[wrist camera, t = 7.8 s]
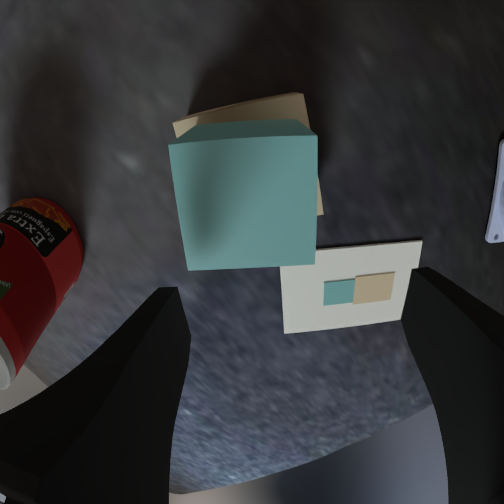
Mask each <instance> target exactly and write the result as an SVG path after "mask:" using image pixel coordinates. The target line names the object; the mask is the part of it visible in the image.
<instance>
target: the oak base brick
mask: <svg viewBox="0 0 504 504" xmlns="http://www.w3.org/2000/svg"><path fill="white" fill-rule="evenodd" d="M271 119H297V120H298V121H300V122H301V123H302V124H303V125H305V126H306V127H307V128H309V129H310V126H309V120H308V115H307V110H306V105H305V100H304V95H303V94H301V93H296V92H292V93H286V94H280V95H275V96H269V97H264V98H259V99H254V100H249V101H245V102H240V103H235V104H231V105H227V106H223V107H218V108H214V109H210V110H206V111H203V112H199V113H195V114H191V115H188V116H185V117H183V118H181V119H179V120H178V121H176V122H174V123H173V126H174V129H175V133H176V136H177V138H178V137H180V136H181V135H182V134H184V133H185V132H187V131H188V130H189V129H191V128H192V127H194V126H195V125H200V124H210V123H222V122H234V121H250V120H271ZM317 215H323V208H322V201H321V194H320V187H319V180H318V179H317Z"/></svg>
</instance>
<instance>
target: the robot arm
mask: <svg viewBox="0 0 504 504" xmlns="http://www.w3.org/2000/svg"><path fill="white" fill-rule="evenodd" d="M495 235H496V236H495ZM494 236H495V237H494ZM485 239H486V240H487V241H488V242H489V243H494V242H503V241H504V139H503V140H501V142H500V145H499V155H498V164H497V173H496V180H495V187H494V194H493V200H492V206H491V211H490V216H489V221H488V226H487V231H486V235H485ZM401 322H402V325H403V328H404V332H405V335H406V338H407V342H408V345H409V347H410V349H411V352H412V354H413V356H414V359H415V361H416V363H417V366H418V368H419V370H420V372H421V375H422V377H423V379H424V382H425V384H426V387H427V389H428V391H429V394H430V396H431V399H432V402H433V404H434V407H435V410H436V414H437V418H438V422H439V427H440V431H441V435H442V441H443V446H444V452H445V458H446V466H447V476H448V495H449V504H504V316H503V315H501V314H500V313H498V312H497V311H495V310H493V309H492V308H490V307H489V306H487V305H486V304H484V303H483V302H481V301H480V300H478V299H477V298H475V297H474V296H473V295H471V294H470V293H468V292H467V291H465V290H464V289H462V288H461V287H459V286H458V285H456V284H455V283H454V282H452V281H451V280H449V279H448V278H446V277H444V276H443V275H441V274H440V273H438V272H436V271H435V270H433V269H431V268H429V267H423V268H414V269H412V270H411V275H410V280H409V285H408V289H407V294H406V298H405V303H404V307H403V311H402V315H401ZM190 342H191V334H190V330H189V327H188V323H187V320H186V316H185V313H184V309H183V306H182V302H181V299H180V295H179V291H178V287H161V288H158V289H157V290H156V291H154V292H153V293H152V294H151V295H150V296H149V297H148V299H147V300H146V301H145V302H144V303H143V304H142V305H141V306H140V307H139V308H138V309H137V310H136V311H135V312H134V313H133V314H132V315H131V316H130V317H129V318H128V319H127V320H126V321H125V322H124V323H123V324H122V326H121V327H120V328H119V329H118V330H117V331H116V332H114V333H113V334H112V335H111V336H110V337H109V338H108V339H107V340H106V341H105V342H104V343H103V344H102V345H101V346H100V347H99V348H98V349H97V350H96V351H95V352H93V353H92V354H91V355H90V356H89V357H88V358H87V359H85V360H84V361H83V362H82V363H81V364H79V365H78V366H77V367H76V368H74V369H73V370H72V371H71V372H69V373H68V374H67V375H65V376H64V377H62V378H61V379H60V380H58V381H57V382H55V383H54V384H52V385H51V386H49V387H48V388H46V389H45V390H44V391H42V392H41V393H39V394H38V395H36V396H34V397H32V398H31V399H29V400H27V401H26V402H24V403H22V404H20V405H18V406H17V407H15V408H13V409H11V410H9V411H7V412H5V413H2V414H0V493H1V494H3V495H5V496H6V500H5V503H3V502H1V501H0V504H169V474H170V458H171V447H172V436H173V430H174V424H175V419H176V415H177V411H178V406H179V402H180V398H181V393H182V389H183V385H184V380H185V376H186V372H187V367H188V362H189V353H190Z"/></svg>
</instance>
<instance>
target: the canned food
mask: <svg viewBox="0 0 504 504" xmlns="http://www.w3.org/2000/svg"><path fill="white" fill-rule="evenodd" d="M82 264H83V245H82V241H81V237H80V235H79V232H78V230H77V228H76V226H75V224H74V223H73V221H72V219H71V218H70V217H69V216H68V214H67V213H66V212H65V211H64V210H63V209H62V208H61V207H60V206H58V205H57V204H55V203H54V202H52V201H50V200H48V199H45V198H39V197H34V198H27V199H22V200H20V201H18V202H16V203H14V204H13V205H12V206H10V207H9V208H7V209H6V210H5V211H3V212H2V213H0V390H3V389H7V388H8V387H9V386H10V384H11V383H12V381H14V379H15V377H16V375H17V374H18V372H19V370H20V368H21V367H22V366H23V364H24V362H25V360H26V359H27V357H28V355H29V354H30V352H31V350H32V348H33V347H34V345H35V344H36V342H37V340H38V339H39V337H40V335H41V334H42V332H43V331H44V329H45V327H46V326H47V324H48V323H49V321H50V320H51V318H52V317H53V315H54V313H55V312H56V310H57V309H58V307H59V306H60V304H61V303H62V302H63V300H64V299H65V297H66V296H67V294H68V293H69V291H70V290H71V288H72V287H73V286H74V284H75V283H76V281H77V279H78V278H79V274H80V271H81V268H82Z"/></svg>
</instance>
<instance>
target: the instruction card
mask: <svg viewBox="0 0 504 504" xmlns="http://www.w3.org/2000/svg"><path fill="white" fill-rule="evenodd" d="M421 247H422V240H414V241H403V242H392V243H381V244H370V245H358V246H347V247H336V248H324V249H316V251H315V264H314V265H296V266H280V274H281V289H282V305H283V321H284V334H286V333H297V332H307V331H317V330H326V329H334V328H343V327H351V326H358V325H366V324H373V323H380V322H386V321H393V320H399V319H401V315H402V311H403V307H404V303H405V298H406V294H407V289H408V285H409V280H410V275H411V270H412V269H414V268H418V264H419V259H420V253H421Z"/></svg>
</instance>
